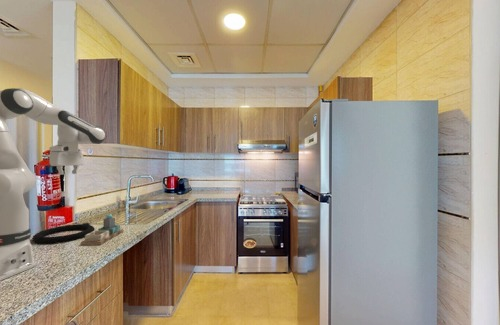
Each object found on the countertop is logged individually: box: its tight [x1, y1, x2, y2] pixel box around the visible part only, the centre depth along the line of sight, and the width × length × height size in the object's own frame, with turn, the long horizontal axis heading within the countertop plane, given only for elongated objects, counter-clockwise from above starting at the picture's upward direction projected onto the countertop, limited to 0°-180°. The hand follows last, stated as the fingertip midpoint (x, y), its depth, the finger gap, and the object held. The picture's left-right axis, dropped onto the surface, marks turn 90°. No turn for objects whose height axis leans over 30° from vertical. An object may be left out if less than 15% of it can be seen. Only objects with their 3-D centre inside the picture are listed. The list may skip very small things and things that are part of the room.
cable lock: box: [31, 222, 95, 245], centre depth 134 cm, size 28×4×30 cm
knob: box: [102, 213, 116, 229], centre depth 134 cm, size 4×4×10 cm
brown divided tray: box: [80, 224, 124, 246], centre depth 129 cm, size 22×10×4 cm, turn 2°
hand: (68, 174), depth 127 cm, fingers open, 8 cm apart
